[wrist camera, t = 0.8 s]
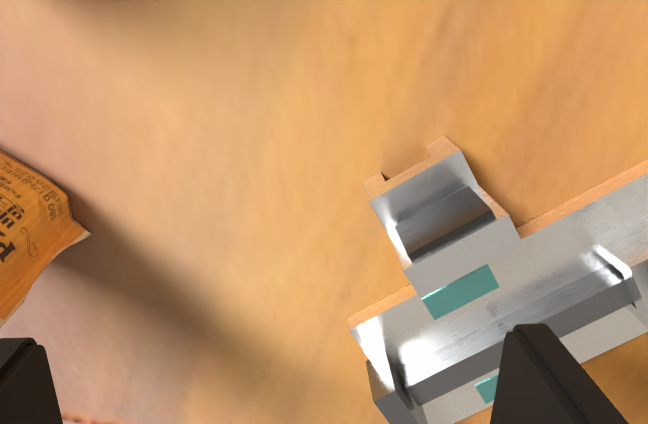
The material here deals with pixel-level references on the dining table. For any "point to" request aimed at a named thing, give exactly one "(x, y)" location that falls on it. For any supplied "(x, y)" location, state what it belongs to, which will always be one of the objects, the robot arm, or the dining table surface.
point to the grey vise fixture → (514, 305)
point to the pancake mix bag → (30, 230)
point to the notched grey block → (440, 218)
